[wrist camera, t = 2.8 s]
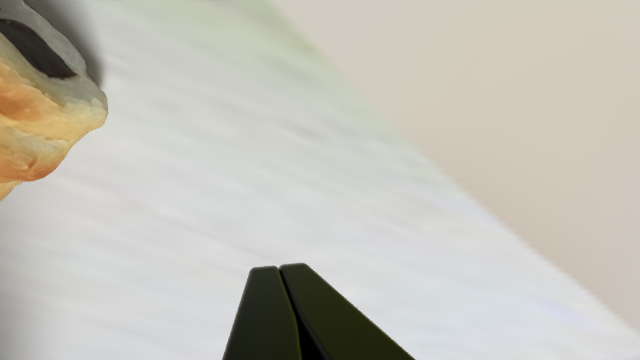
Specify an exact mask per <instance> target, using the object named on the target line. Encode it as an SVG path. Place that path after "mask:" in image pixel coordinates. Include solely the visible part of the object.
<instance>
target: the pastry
mask: <svg viewBox="0 0 640 360" xmlns="http://www.w3.org/2000/svg"><path fill="white" fill-rule="evenodd" d="M86 68H87V66H86V63H85V61H84V59H83V58H82V56H81V55H80V53H79V52H78V51H77V49H76V48H75V47H74V46H73V45H72V44H71V42H70V41H69V40H68V39H67V37H66V36H64V35H63V34H61V33H60V32H58V31H57V30H56V29H55V28H53V27H52V25H51V24H50V23H49V22H48V21H47V20H46V19H45V18H43V17H42V16H41V15H40V14H38V13H37V12H36V11H34V10H33V9H31V8H30V7H28V6H27V5H26V4H25V3H24V1H23V0H0V201H2V200H3V199H4V198H5V197H6V196H7V195H8V194H9V193H10V192H11V191H12V189H13V188H14V186H16V185H18V184H20V183H22V182H23V181H35V180H38V179H41V178H44V177H45V176H47V175H48V174H50V173H51V172H53V171H54V170H55V169H56V168H57V166H58V165H59V164H60V163H61V161H62V160H63V159H64V158H65V156H66V155H67V153H68V152H69V150H70V149H71V148H72V146H73V145H74V144H75V143H76V142H78V141H79V140H80V139H81V138H82V137H83V136H84V135H86V134H87V133H88V132H90V131H92V130H94V129H97V128H100V127H101V126H102V125H103V124H104V123H105V120H106V118H107V115H108V105H107V97H106V95H105V93H104V92H103V91H102V90H101V89H100V88H99V87H97V86H96V84H95V82H94V80H93V79H91V78H90V77H89V76H88V74H87V71H86Z"/></svg>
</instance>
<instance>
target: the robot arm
mask: <svg viewBox="0 0 640 360" xmlns="http://www.w3.org/2000/svg"><path fill="white" fill-rule="evenodd" d="M222 360H415V359H414V358H413V357H412V356H411V355H410V354H408V353H407V352H406V351H405V350H404V349H403V348H402V347H400V346H399V345H398V344H397V343H396V342H395V341H394V340H392V339H391V338H390V337H389V336H388V335H387V334H386V333H385V332H383V331H382V330H381V329H380V328H379V327H378V326H377V325H375V324H374V323H373V322H372V321H371V320H370V319H369V318H367V317H366V316H365V315H364V314H363V313H362V312H361V311H359V310H358V309H357V308H356V307H355V306H354V305H353V304H351V303H350V302H349V301H348V300H347V299H346V298H345V297H343V296H342V295H341V294H340V293H339V292H338V291H337V290H335V289H334V288H333V287H332V286H331V285H330V284H329V283H327V282H326V281H325V280H324V279H323V278H322V277H321V276H319V275H318V274H317V273H316V272H315V271H314V270H313V269H311V268H310V267H309V266H308V265H307V264H304V263H294V264H284V265H281V266H280V267H279V268H277V267H276V266H264V267H254V268H252V269H251V270H250V272H249V275H248V279H247V282H246V285H245V288H244V291H243V295H242V298H241V301H240V304H239V307H238V311H237V314H236V317H235V320H234V323H233V327H232V330H231V333H230V336H229V339H228V343H227V346H226V349H225V352H224V356H223V359H222Z"/></svg>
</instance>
